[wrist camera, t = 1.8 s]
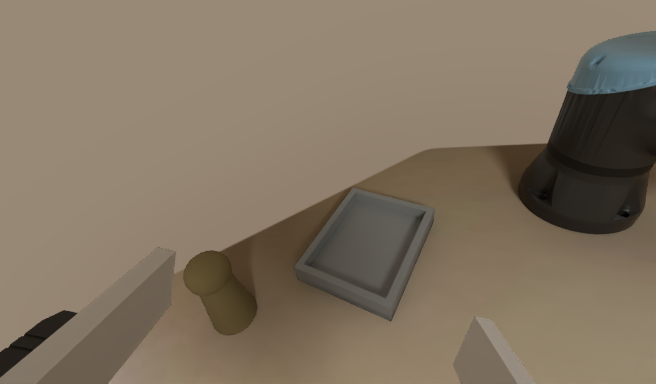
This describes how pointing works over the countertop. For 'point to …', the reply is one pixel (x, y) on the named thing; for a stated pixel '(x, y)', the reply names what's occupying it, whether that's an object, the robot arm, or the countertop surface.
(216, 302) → the cork
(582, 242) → the countertop surface
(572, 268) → the countertop surface
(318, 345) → the countertop surface
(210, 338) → the countertop surface
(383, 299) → the tray
